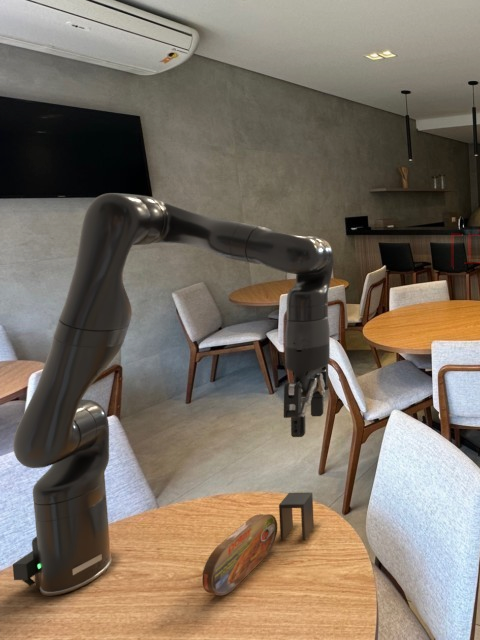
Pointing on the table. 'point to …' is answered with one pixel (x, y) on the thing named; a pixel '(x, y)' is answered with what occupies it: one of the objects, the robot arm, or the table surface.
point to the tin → (239, 554)
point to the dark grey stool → (306, 507)
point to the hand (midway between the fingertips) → (308, 425)
